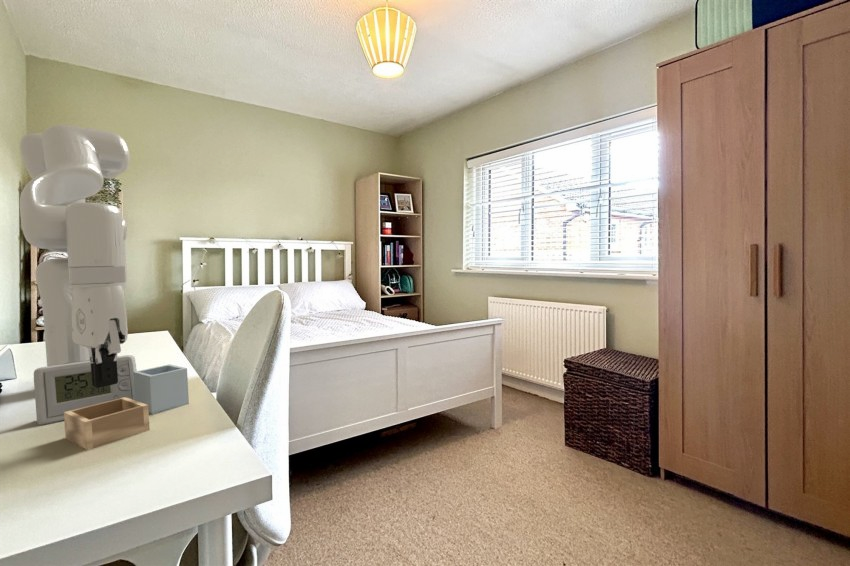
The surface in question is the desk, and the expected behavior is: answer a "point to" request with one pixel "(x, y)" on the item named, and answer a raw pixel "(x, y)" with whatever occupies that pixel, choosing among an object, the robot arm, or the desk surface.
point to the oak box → (106, 422)
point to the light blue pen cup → (161, 387)
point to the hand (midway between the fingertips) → (105, 384)
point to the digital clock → (77, 388)
